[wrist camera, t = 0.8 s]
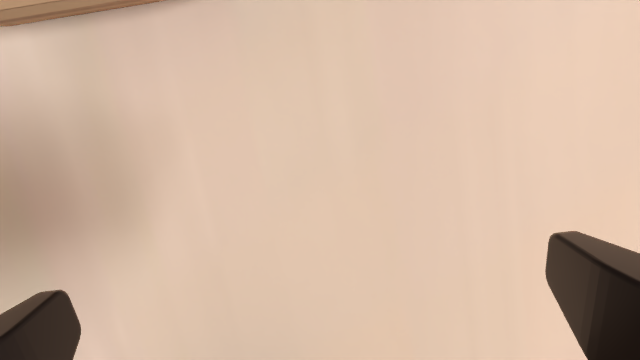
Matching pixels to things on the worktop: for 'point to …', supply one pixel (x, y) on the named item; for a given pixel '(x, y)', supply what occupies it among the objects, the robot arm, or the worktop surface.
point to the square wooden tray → (56, 9)
